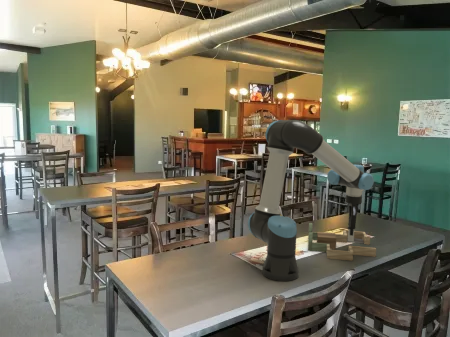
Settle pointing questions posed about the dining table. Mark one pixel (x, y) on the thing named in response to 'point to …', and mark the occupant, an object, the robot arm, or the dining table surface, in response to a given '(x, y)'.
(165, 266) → the dining table surface
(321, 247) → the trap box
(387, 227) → the dining table surface
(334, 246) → the block
